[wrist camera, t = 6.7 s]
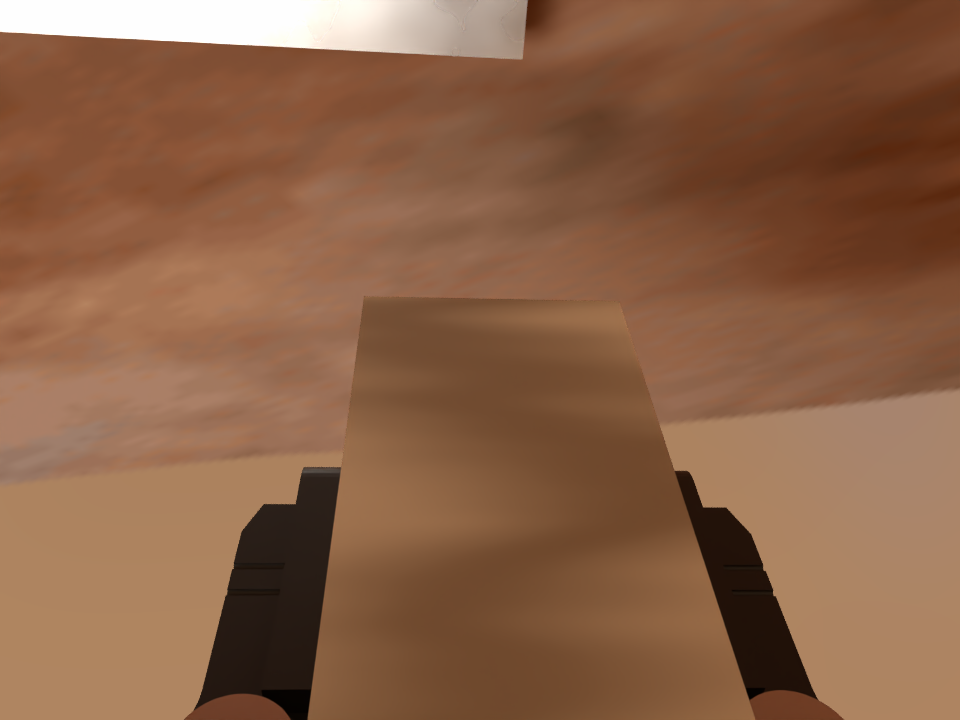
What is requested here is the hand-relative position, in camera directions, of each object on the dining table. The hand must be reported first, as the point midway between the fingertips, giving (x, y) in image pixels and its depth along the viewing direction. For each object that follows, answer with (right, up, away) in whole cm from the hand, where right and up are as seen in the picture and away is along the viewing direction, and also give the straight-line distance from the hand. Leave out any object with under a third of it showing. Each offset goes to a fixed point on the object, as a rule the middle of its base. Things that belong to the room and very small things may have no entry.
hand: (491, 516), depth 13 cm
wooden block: (0, +2, +2) cm, 3 cm away
